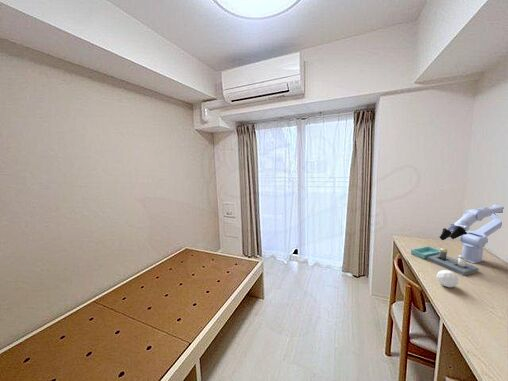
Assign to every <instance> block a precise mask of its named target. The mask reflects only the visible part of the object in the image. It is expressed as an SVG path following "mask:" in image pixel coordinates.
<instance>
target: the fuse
mask: <svg viewBox="0 0 508 381" xmlns="http://www.w3.org/2000/svg"><path fill="white" fill-rule="evenodd" d="M457 260H458V264H457V266H458V267H460V268H463V269H464V268H465V263H466V262H467V261H466V256H465V255H462V254H458V256H457Z"/></svg>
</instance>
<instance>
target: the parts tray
mask: <svg viewBox="0 0 508 381" xmlns="http://www.w3.org/2000/svg"><path fill="white" fill-rule="evenodd" d="M410 254H411V255H413V256H416V257H418V258H420V259H422V260H427V257H429V256H434V255H438V254H440V249H436V248H434V247H432V246H429V245H427V246H422V247H417V248H413V249H411V252H410Z"/></svg>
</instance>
